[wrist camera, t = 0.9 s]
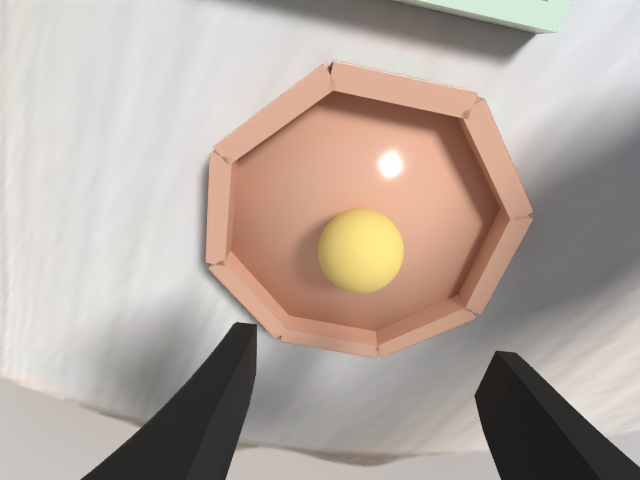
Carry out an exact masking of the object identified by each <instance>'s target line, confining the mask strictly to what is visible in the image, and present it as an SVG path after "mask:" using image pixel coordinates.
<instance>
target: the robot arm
mask: <svg viewBox="0 0 640 480" xmlns="http://www.w3.org/2000/svg"><path fill="white" fill-rule="evenodd" d="M256 357H257V324H249V323H240V322H236V323H235V324H233V326H232V327H231V328H230V330H229V331H228V333H227V334H226V335H225V337H224V338H223V339H222V341H221V342H220V343H219V345H218V346H217V347H216V348H215V350H214V351H213V352H212V353H211V355H210V356H209V357H208V358H207V359H206V361H205V362H204V363H203V364H202V365H201V366H200V368H199V369H198V370H197V371H196V372H195V373H194V375H193V376H192V377H191V378H190V379H189V380H188V381H187V382H186V384H185V385H184V386H183V387H182V388H181V389H180V390H179V391H178V392H177V393H176V394H175V395H174V396H173V397H172V398H171V399H170V400H169V401H168V402H167V403H166V405H165V406H164V407H163V408H162V409H161V410H160V411H158V412H157V413H156V414H155V415H154V416H153V417H152V418H151V419H150V420H149V421H148V422H147V423H146V424H145V425H144V426H143V427H142V428H141V429H140V430H139V431H137V432H136V433H135V434H134V435H133V436H132V437H131V438H130V439H129V440H127V441H126V442H125V443H124V444H123V445H122V446H120V447H119V448H118V449H117V450H116V451H115V452H113V453H112V454H111V455H110V456H109V457H108V458H106V459H105V460H104V461H103V462H102V463H100V464H99V465H98V466H97V467H96V468H94V469H93V470H92V471H91V472H90V473H88V474H87V475H86V476H84V477H83V478H82V479H81V480H225V479H226V476H227V473H228V469H229V467H230V463H231V460H232V457H233V454H234V451H235V448H236V445H237V442H238V439H239V436H240V433H241V430H242V426H243V423H244V420H245V417H246V414H247V411H248V407H249V404H250V399H251V395H252V390H253V385H254V380H255V376H256ZM475 400H476V404H477V409H478V413H479V417H480V421H481V425H482V429H483V432H484V435H485V438H486V440H487V443H488V446H489V449H490V451H491V454H492V456H493V459H494V462H495V465H496V467H497V470H498V473H499V475H500V478H501V480H640V467H639V466H637V465H636V464H635V463H634V462H633V461H632V460H631V459H629V458H628V457H627V456H626V455H625V454H624V453H622V452H621V451H620V450H619V449H618V448H617V447H616V446H615V445H614V444H612V443H611V442H610V441H609V440H608V439H607V438H606V437H604V436H603V435H602V434H601V433H600V432H599V431H598V430H597V429H596V428H595V427H594V426H592V425H591V424H590V423H589V422H588V421H587V420H586V419H585V418H584V417H583V416H582V415H581V414H580V413H579V412H578V411H577V410H575V409H574V408H573V407H572V406H571V405H570V404H569V403H568V402H567V401H566V400H565V399H564V398H563V397H562V396H561V395H560V394H559V393H558V392H557V391H556V390H555V389H554V388H553V387H552V386H551V385H550V384H549V383H548V382H547V381H546V380H544V379H543V378H542V377H541V376H540V375H539V374H538V373H537V372H536V371H535V370H534V369H533V368H532V367H531V366H530V365H529V364H528V363H527V362H526V361H525V360H524V359H523V358H521V357H520V356H519V355H518V354H517V353H513V352H504V351H496V352H495V354H494V356H493V358H492V360H491V362H490V364H489V366H488V368H487V371H486V373H485V375H484V377H483V379H482V381H481V383H480V385H479V387H478V389H477V391H476V394H475Z"/></svg>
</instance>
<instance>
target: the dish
mask: <svg viewBox="0 0 640 480" xmlns="http://www.w3.org/2000/svg"><path fill="white" fill-rule="evenodd" d="M477 95H478V93H476V92H473V91H470V90H467V89H464V88H459V87H454V86H450V85H445V84H441V83H436V82H431V81H427V80H422V79H418V78H413V77H409V76H404V75H399V74H395V73H390V72H386V71H381V70H376V69H372V68H367V67H363V66H358V65H354V64H349V63H344V62H340V61H335V60H334V61H333V66H332V71H330V69H329V68H328V66H327V64H326V63H324V64H322V65H321V66H320V67H318V68H317V69H316V70H314V71H313V72H312V73H310V74H309V75H308V76H306V77H305V78H304V79H302V80H301V81H300V82H298V83H297V84H296V85H294V86H293V87H292V88H290V89H289V90H288V91H286V92H285V93H284V94H282V95H281V96H280V97H278V98H277V99H276V100H275V101H273V102H272V103H271V104H269V105H268V106H267V107H265V108H264V109H263V110H261V111H260V112H259V113H257V114H256V115H255V116H253V117H252V118H251V119H249V120H248V121H247V122H245V123H244V124H243V125H241V126H240V127H239V128H237V129H236V130H235V131H233V132H232V133H231V134H229V135H228V136H227V137H225V138H224V139H223V140H222V141H220V142H219V143H218V144H217V145H215V146H214V149H215V150H214V151H213V152H212V153H211V154H210V158H209V184H208V211H207V238H206V263H210V264H211V265H210V266H209V268H208V269H209V270H210V271H211V272H212V273H213V274H214V275H215V276H216V277H217V279H218V280H219V281H220V282H221V283H222V284H223V285H224V286H225V287H226V288H227V289H228V290H229V291H230V292H231V293H232V294H233V295H234V296H235V297H236V298H237V299H238V300H239V301H240V302H241V304H242V305H243V306H244V307H245V308H246V309H247V310H248V311H249V312H250V313H251V314H252V315H253V316H254V317H255V318H256V319H257V320H258V321H259V322H260V323H261V324H262V325H263V326H264V327H265V329H266V330H267V331H268V332H269V333H270V334H271V335H272V336H273V337H274V338H277V337H279V336H281V335H282V337H281V342H287V343H293V344H298V345H304V346H309V347H315V348H321V349H326V350H332V351H338V352H343V353H349V354H354V355H360V356H366V357H371V358H377V355H378V353H379V354H380V355H381V356H382V357H386V356H388V355H390V354H393V353H395V352H398V351H400V350H402V349H405V348H407V347H410V346H412V345H414V344H417V343H419V342H421V341H424V340H426V339H429V338H431V337H433V336H436V335H438V334H441V333H443V332H445V331H448V330H450V329H453V328H455V327H457V326H460V325H462V324H465V323H467V322H469V321H472V320H474V319H476V317H475V315H474V313H478V314H482V312H483V311H484V309H485V307H486V305H487V303H488V301H489V300H490V298H491V296H492V294H493V292H494V290H495V289H496V287H497V285H498V283H499V281H500V279H501V278H502V276H503V274H504V272H505V270H506V268H507V267H508V265H509V263H510V261H511V259H512V257H513V256H514V254H515V252H516V250H517V248H518V246H519V245H520V243H521V241H522V239H523V237H524V235H525V234H526V232H527V230H528V228H529V226H530V224H531V223H532V221H533V219H532V218H531V217H530V216H529V214H531V213H533V212H534V211H533V209H532V207H531V204H530V202H529V200H528V197H527V195H526V193H525V190H524V188H523V186H522V183H521V181H520V179H519V176H518V174H517V172H516V169H515V167H514V165H513V163H512V160H511V158H510V156H509V153H508V151H507V149H506V146H505V144H504V142H503V139H502V137H501V135H500V132H499V130H498V128H497V125H496V123H495V121H494V118H493V116H492V114H491V111H490V109H489V107H488V104H487V102H486V100H485V99H484V98H481V97H478V96H477ZM355 208H366V209H372V210H375V211H377V212H380V213H382V214H383V215H385V216H386V217H388V218H389V219H390V220H391V221H392V222H393V223H394V224H395V226H396V227H397V229H398V230H399V232H400V234H401V237H402V240H403V246H404V256H403V262H402V265H401V267H400V270H399V272H398V273H397V275H396V276H395V277H394V279H393V280H392V281H391V282H390V283H389V284H387V285H386V286H385V287H383V288H381V289H379V290H377V291H374V292H371V293H363V294H360V293H352V292H348V291H345V290H343V289H341V288H339V287H337V286H336V285H335V284H333V283H332V282H331V281H330V280H329V279H328V278H327V276H326V275H325V273H324V272H323V270H322V268H321V265H320V262H319V257H318V244H319V239H320V236H321V234H322V232H323V230H324V228H325V227H326V225H327V224H328V223H329V222H330V221H331V220H332V219H333V218H334V217H335V216H337V215H338V214H340V213H342V212H344V211H347V210H350V209H355Z"/></svg>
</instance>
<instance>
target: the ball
mask: <svg viewBox="0 0 640 480" xmlns="http://www.w3.org/2000/svg"><path fill="white" fill-rule="evenodd" d="M403 256H404V246H403V240H402V237H401V234H400V232H399V230H398V229H397V227H396V226H395V224H394V223H393V222H392V221H391V220H390V219H389V218H388V217H386V216H385V215H383V214H382V213H380V212H377V211H375V210H372V209H366V208H355V209H350V210H347V211H344V212H342V213H340V214H338V215H337V216H335V217H334V218H333V219H332V220H331V221H330V222H329V223H328V224H327V225H326V227H325V228H324V230H323V232H322V234H321V236H320V239H319V244H318V257H319V262H320V265H321V268H322V270H323V272H324V273H325V275H326V276H327V278H328V279H329V280H330V281H331V282H332V283H333V284H335V285H336V286H337V287H339V288H341V289H343V290H345V291H348V292H352V293H360V294H363V293H371V292H374V291H377V290H379V289H381V288H383V287H385V286H386V285H387V284H389V283H390V282H391V281H392V280H393V279H394V277H395V276H396V275H397V273H398V272H399V270H400V267H401V265H402V262H403Z"/></svg>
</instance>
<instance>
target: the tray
mask: <svg viewBox="0 0 640 480" xmlns="http://www.w3.org/2000/svg"><path fill="white" fill-rule="evenodd" d="M392 1H396V2H400V3H405V4H409V5H413V6H418V7H422V8H427V9H431V10H435V11H440V12H444V13H448V14H453V15H457V16H462V17H466V18H470V19H475V20H479V21H484V22H488V23H492V24H497V25H501V26H505V27H510V28H514V29H519V30H523V31H527V32H532V33H536V34H542V33H556V32H558V30H559V28H560V26H561V24H562V21H563V19H564V17H565V15H566V13H567V10H568V8H569V6H570V4H571V2H572V0H392Z"/></svg>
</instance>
